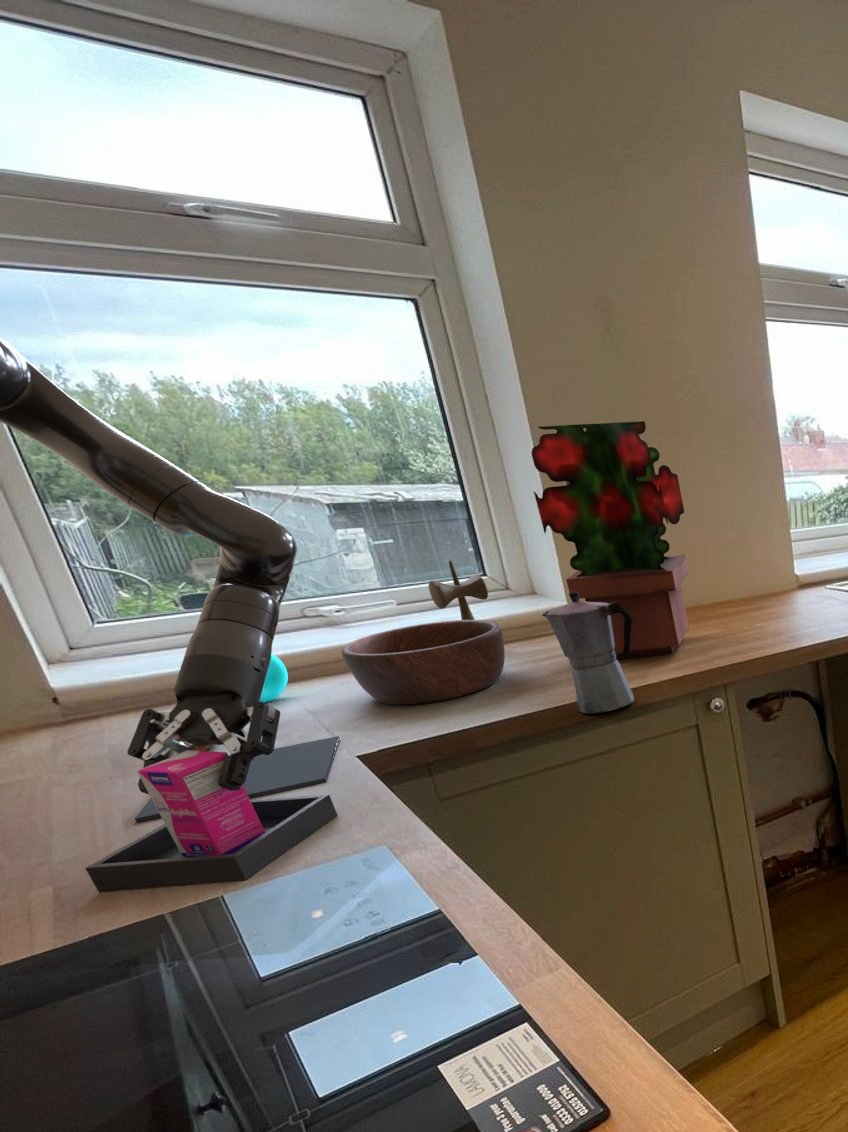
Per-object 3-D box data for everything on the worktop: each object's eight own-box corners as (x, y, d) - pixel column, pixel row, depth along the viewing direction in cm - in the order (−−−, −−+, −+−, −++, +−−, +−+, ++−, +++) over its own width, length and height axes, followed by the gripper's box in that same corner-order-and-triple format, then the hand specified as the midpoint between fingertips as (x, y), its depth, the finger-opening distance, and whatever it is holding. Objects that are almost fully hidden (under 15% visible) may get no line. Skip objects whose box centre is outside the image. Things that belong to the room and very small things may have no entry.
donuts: (241, 711, 146) (217, 658, 142) (205, 707, 149) (181, 655, 145) (300, 693, 155) (279, 643, 151) (265, 690, 158) (244, 640, 154)
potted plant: (695, 657, 166) (647, 421, 148) (579, 668, 162) (517, 427, 144) (707, 630, 186) (666, 420, 168) (604, 640, 182) (552, 425, 164)
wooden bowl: (521, 690, 151) (506, 636, 147) (357, 722, 138) (335, 664, 134) (508, 660, 170) (494, 612, 166) (363, 686, 157) (344, 634, 153)
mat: (136, 822, 106) (134, 818, 106) (175, 771, 121) (173, 768, 121) (326, 781, 115) (324, 778, 115) (339, 739, 131) (338, 736, 131)
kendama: (448, 656, 175) (418, 563, 167) (495, 645, 182) (469, 555, 174) (459, 660, 172) (429, 565, 164) (507, 649, 179) (480, 557, 171)
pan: (98, 892, 90) (84, 868, 89) (211, 825, 104) (201, 803, 103) (245, 880, 91) (234, 856, 90) (338, 815, 105) (329, 794, 104)
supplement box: (179, 858, 95) (133, 769, 90) (230, 833, 100) (190, 748, 96) (219, 860, 94) (175, 771, 90) (269, 835, 99) (230, 749, 95)
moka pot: (580, 698, 145) (551, 587, 137) (664, 695, 145) (640, 583, 137) (552, 717, 136) (519, 599, 129) (641, 714, 136) (613, 596, 128)
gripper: (135, 655, 95) (91, 785, 89) (262, 647, 96) (227, 775, 90) (192, 684, 102) (155, 806, 96) (310, 676, 103) (280, 796, 97)
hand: (189, 791), depth 93 cm, fingers open, 8 cm apart
